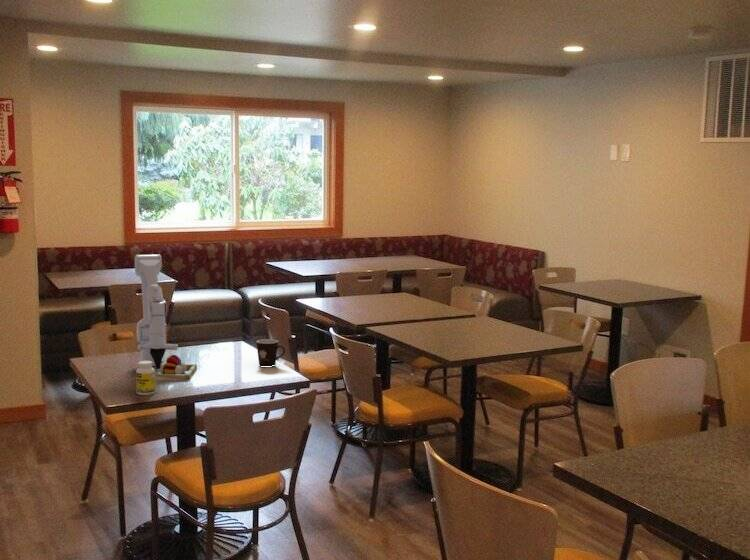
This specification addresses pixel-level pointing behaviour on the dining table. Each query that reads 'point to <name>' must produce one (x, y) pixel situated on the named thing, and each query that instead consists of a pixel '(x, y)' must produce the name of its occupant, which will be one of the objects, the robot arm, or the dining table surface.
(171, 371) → the red and white piece
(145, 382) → the pill bottle
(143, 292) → the robot arm
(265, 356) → the coffee mug
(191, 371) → the beige wooden tray
